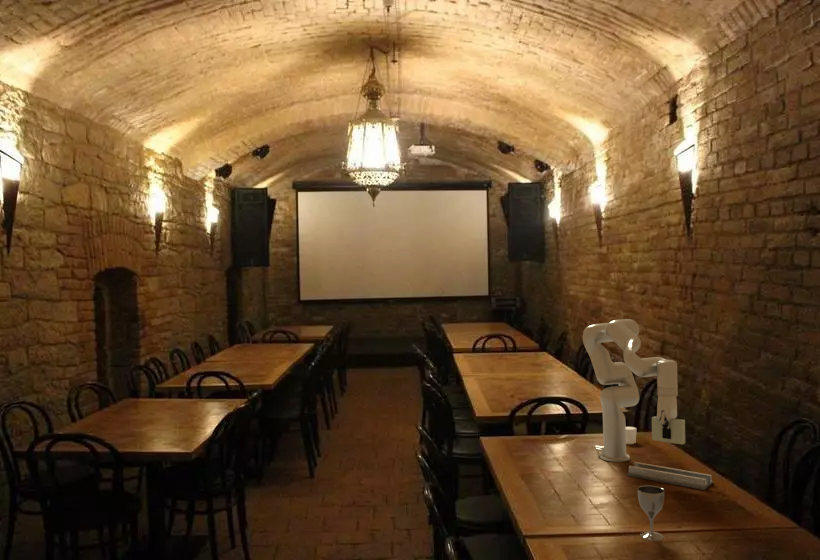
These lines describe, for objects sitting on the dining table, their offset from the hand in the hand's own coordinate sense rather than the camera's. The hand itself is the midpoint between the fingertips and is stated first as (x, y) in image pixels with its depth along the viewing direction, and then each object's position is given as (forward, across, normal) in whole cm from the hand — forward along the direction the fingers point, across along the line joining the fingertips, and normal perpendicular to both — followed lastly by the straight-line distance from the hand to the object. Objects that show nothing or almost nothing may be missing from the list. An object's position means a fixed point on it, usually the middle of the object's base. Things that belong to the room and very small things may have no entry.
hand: (668, 437), depth 270 cm
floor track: (+17, 0, 0) cm, 17 cm away
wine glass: (+17, +58, +15) cm, 62 cm away
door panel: (+2, 0, 0) cm, 2 cm away
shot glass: (+17, -43, -34) cm, 57 cm away
